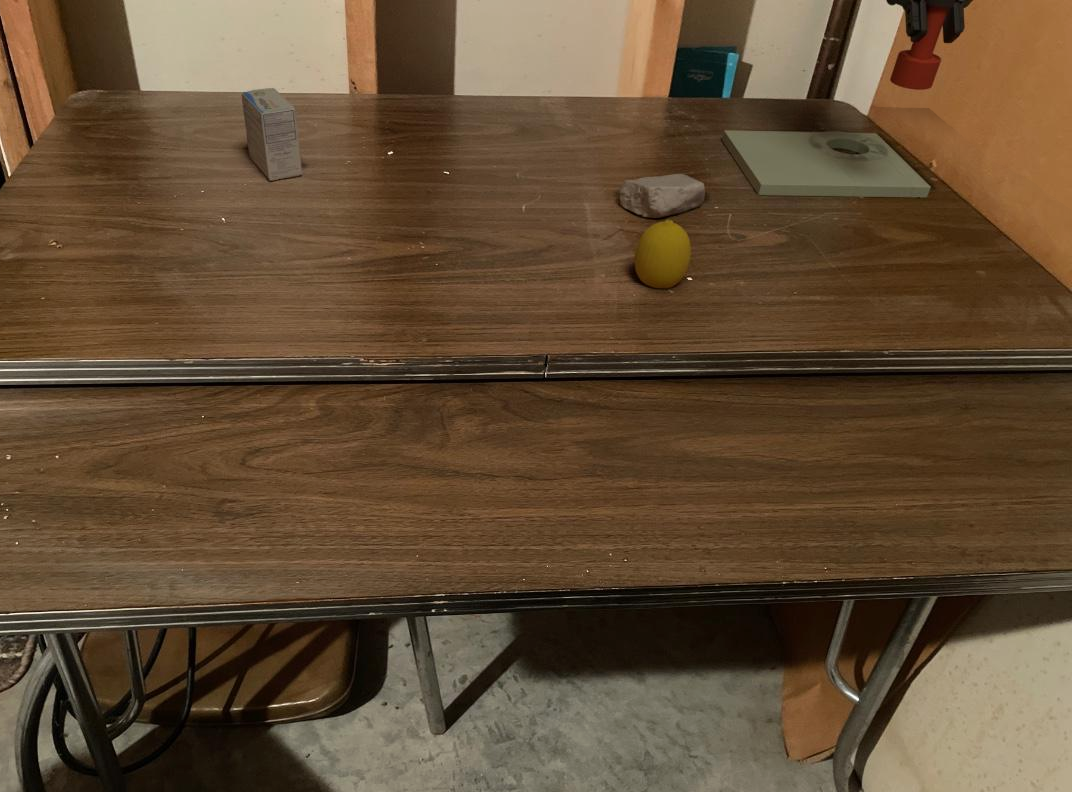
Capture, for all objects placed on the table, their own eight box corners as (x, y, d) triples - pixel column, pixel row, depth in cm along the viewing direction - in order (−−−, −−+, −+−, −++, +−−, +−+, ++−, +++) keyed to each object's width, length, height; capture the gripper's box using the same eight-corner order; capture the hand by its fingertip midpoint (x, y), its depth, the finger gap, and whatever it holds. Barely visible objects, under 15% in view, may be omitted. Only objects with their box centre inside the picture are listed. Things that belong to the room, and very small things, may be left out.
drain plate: (872, 142, 131) (875, 132, 130) (926, 198, 117) (931, 186, 116) (721, 139, 129) (723, 129, 128) (758, 195, 115) (761, 184, 114)
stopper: (921, 76, 107) (952, -12, 101) (938, 90, 104) (971, 0, 98) (883, 75, 107) (912, -13, 101) (899, 89, 104) (930, -1, 98)
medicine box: (303, 176, 114) (297, 107, 109) (268, 182, 113) (261, 112, 107) (281, 153, 120) (275, 86, 114) (248, 159, 118) (240, 90, 112)
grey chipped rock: (677, 222, 116) (689, 176, 114) (708, 230, 111) (722, 181, 109) (613, 209, 112) (625, 160, 110) (642, 217, 106) (656, 165, 105)
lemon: (619, 283, 97) (630, 213, 92) (663, 274, 99) (676, 204, 94) (648, 309, 93) (661, 237, 88) (693, 298, 95) (708, 228, 90)
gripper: (884, -136, 98) (891, 18, 96) (1010, -131, 99) (1019, 22, 97) (850, -90, 105) (857, 55, 104) (968, -85, 106) (976, 58, 105)
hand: (935, 38), depth 100 cm, fingers closed on stopper, 3 cm apart
